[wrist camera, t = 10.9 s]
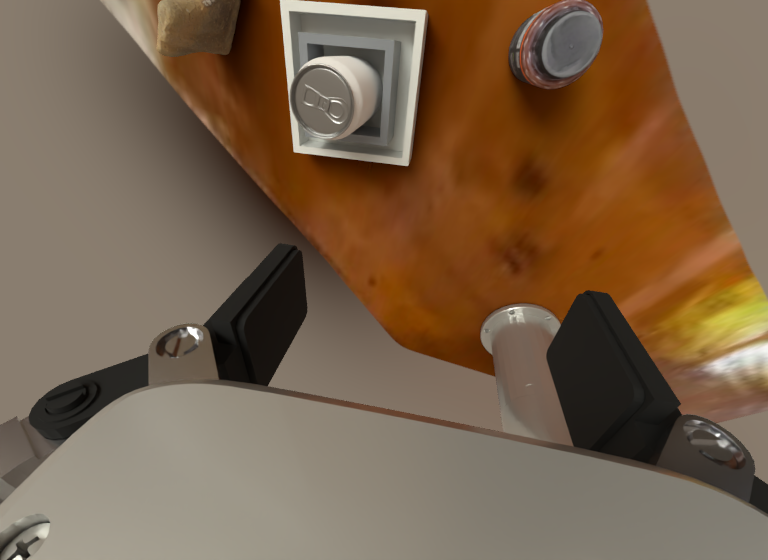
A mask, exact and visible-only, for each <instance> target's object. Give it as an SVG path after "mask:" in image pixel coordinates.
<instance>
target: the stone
mask: <svg viewBox="0 0 768 560" xmlns="http://www.w3.org/2000/svg"><path fill="white" fill-rule="evenodd" d="M240 1H241V0H162V1H160V3H159V4H158V22H159V25H158V38H157V51H158V52H159V53H160V54H162V55H165V56H170V57H177V56H182V55H187V54H190V53H195V52H208V53H214V54H221V55H227V54H229V52H230V49H231V45H232V41H233V36H234V33H235V28H236V22H237V16H238V12H239V7H240Z"/></svg>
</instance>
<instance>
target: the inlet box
mask: <svg viewBox="0 0 768 560" xmlns="http://www.w3.org/2000/svg"><path fill="white" fill-rule="evenodd" d="M280 6H281V17H282V28H283V39H284V50H285V61H286V72H287V83H288V94H289V104H290V89H291V84H292V82H293V79H294V77H295V76H296V74H297V73H298V72H299V70H300V69H301V68H302V66H303V65H304V64H306V63H307V62H309V61H310V60H312V59H315V58H318V57H327V56H358V57H361V58H364V59H366V60H367V61H369V62H370V63H371V64H372V65H373V66H374V67H375V68H376V70H377V71H378V73H379V75H380V78H381V81H382V86H383V95H382V101H381V104H380V107H379V109H378V111H377V112H376V113H375V114H374V115H373V116H372V117H371V118H370V119H369V120H367V121H366V122H365V123H364V124H363V125H361V126H360V127H359V128H358V129H356V130H355V131H354V132H352V133H351V134H350V135H348V136H346V137H344V138H342V139H338V140H326V139H320V138H316V137H314V136H312V135H310V134H309V133H307V132H306V131H305V130H304V129H303V128H302V127H301V126H300V125H299V123H298V122H297V120H296V118H295V116H294V114H293V112H292V108H291V104H290V115H291V126H292V137H293V148H294V152H297V153H305V154H314V155H322V156H330V157H338V158H346V159H354V160H362V161H370V162H378V163H386V164H394V165H402V166H408V165H409V163H410V160H411V157H412V150H413V141H414V133H415V124H416V116H417V107H418V99H419V90H420V82H421V73H422V65H423V57H424V48H425V40H426V31H427V23H428V13H427V11H426V10H416V9H403V8H389V7H376V6H363V5H350V4H337V3H324V2H311V1H297V0H280Z"/></svg>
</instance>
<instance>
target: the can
mask: <svg viewBox="0 0 768 560" xmlns="http://www.w3.org/2000/svg"><path fill="white" fill-rule="evenodd" d="M382 95H383V86H382V81H381V78H380V75H379V73H378V71H377V70H376V68H375V67H374V66H373V65H372V64H371V63H370V62H369V61H367V60H366V59H364V58H361V57H358V56H327V57H318V58H315V59H312V60H310V61H309V62H307V63H306V64H304V65H303V66H302V68H301V69H300V70H299V72H298V73H297V74H296V76H295V77H294V79H293V82H292V84H291V89H290V104H291V108H292V112H293V114H294V116H295V118H296V120H297V122H298V123H299V125H300V126H301V127H302V128H303V129H304V130H305V131H306V132H307V133H309V134H310V135H312V136H314V137H316V138H320V139H326V140H338V139H342V138H344V137H346V136H348V135H350V134H351V133H352V132H354V131H355V130H356V129H358V128H359V127H360V126H361V125H363V124H364V123H365V122H366V121H367V120H369V119H370V118H371V117H372V116H373V115H374V114H375V113H376V112H377V111H378V109H379V107H380V104H381V101H382Z"/></svg>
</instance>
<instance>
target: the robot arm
mask: <svg viewBox="0 0 768 560" xmlns="http://www.w3.org/2000/svg"><path fill="white" fill-rule="evenodd" d="M302 258H303V257H302V252H301V251H300V250H298V249H297V247H296V246H294V245H288V244H278V245H277V246H276V247H275V248H274V249H273V250H272V252H270V254H269V255H268V256H267V257H266V258H265V259H264V260H263V261H262V262H261V263H260V265H259V266H258V267H257V268H256V269H255V270H254V271H253V272H252V273H251V275H250V276H249V277H247V278H246V279H245V280H244V281H243V282H242V284H241V285H240V286H239V287H238V288H237V289H236V290H235V291H234V292H233V293H232V294H231V296H230V297H229V298H228V299H227V300H226V301H225V302H224V303H223V304H222V305H221V307H220V308H219V309H218V310H217V311H216V312H215V313H214V314H213V315H212V316H211V317H210V319H209V320H208V321H207V322H206V323H205V324H204V325H199V324H195V323H187V324H181V325H177V326H174V327H171V328H169V329H167V330H165V331H164V332H162V333H160V334H159V335H158V336H157V337H156V338H154V340H153V341H152V343H151V344H150V347H149V352H148V354H146V355H143V356H140V357H137V358H134V359H132V360H129V361H126V362H123V363H120V364H117V365H114V366H111V367H108V368H105V369H102V370H99V371H96V372H94V373H91V374H88V375H85V376H82V377H79V378H76V379H74V380H70V381H68V382H66V383H63V384H61V385H59V386H57V387H56V388H54V389H52V390H51V391H49V392H48V393H47V394H46V395H44V396H43V397H42V398H41V399H39V400H38V402H37V403H36V404H35V405H34V407H33V408H32V410H31V412H30V414H29V416H28V417H26V418H24V419H22V420H20V419H19V418H18V417H17V416H16V417H14V418H13V419H11V420H9V421H7V422H5V423H3V424H1V425H0V560H768V484H766V483H765V482H763V481H762V480H760V479H759V478H758V477H756V476H755V475H754V474H755V464H754V460H753V458H752V456H751V454H750V452H749V451H748V450H747V449H746V448H745V446H744V445H743V444H742V443H741V442H740V441H739V440H738V439H737V438H736V437H735V436H734V435H733V434H731V433H730V432H729V431H727V430H726V429H724V428H723V427H721V426H720V425H718V424H716V423H714V422H712V421H711V420H709V419H706V418H703V417H700V416H697V415H690V414H686V415H682V414H681V412H680V411H679V409H678V408H677V407H678V406H679V405H680V404H681V403H680V402H679V400H678V399H677V397H676V396H675V394H674V393H673V391H672V390H671V388H670V387H669V385H668V384H667V382H666V380H665V379H664V377H663V376H662V374H661V373H660V371H659V370H658V368H657V367H656V365H655V364H654V362H653V361H652V359H651V358H650V356H649V355H648V353H647V351H646V350H645V348H644V347H643V345H642V344H641V342H640V341H639V339H638V338H637V336H636V335H635V333H634V332H633V330H632V329H631V327H630V326H629V324H628V322H627V321H626V319H625V318H624V316H623V315H622V313H621V312H620V310H619V309H618V307H617V306H616V304H615V303H614V301H613V300H612V298H611V296H610V295H609V294H607V293H602V292H596V291H589V290H588V291H585V292H584V293H583V294H579V295H578V296H577V297H576V299H575V300H574V302H573V304H572V306H571V308H570V310H569V311H568V313H567V315H566V317H565V319H564V320H563V322H562V324H561V325H560V322H559V320H558V318H557V317H556V316H555V315H554V314H553V313H552V312H551V311H549V310H547V309H546V308H544V307H541V306H538V305H533V304H513V305H509V306H505V307H502V308H500V309H498V310H496V311H494V312H493V313H491V314H490V315H489V316H488V317H487V318H486V319H485V321H484V322H483V324H482V326H481V331H480V335H481V341H482V344H483V346H484V348H485V349H486V350H487V351H488V352H489V353H490V354H492V355H493V361H494V368H495V375H496V383H497V390H498V397H499V404H500V412H501V420H502V426H503V430H504V432H499V431H495V430H490V429H485V428H480V427H475V426H470V425H465V424H460V423H455V422H450V421H445V420H440V419H434V418H430V417H425V416H420V415H415V414H410V413H404V412H400V411H395V410H390V409H385V408H380V407H375V406H369V405H364V404H359V403H354V402H349V401H344V400H338V399H333V398H328V397H323V396H317V395H312V394H307V393H302V392H297V391H291V390H285V389H279V388H274V387H268V384H269V382H270V381H271V379H272V377H273V375H274V373H275V372H276V370H277V368H278V366H279V364H280V362H281V361H282V359H283V357H284V355H285V354H286V352H287V350H288V348H289V346H290V344H291V343H292V341H293V339H294V337H295V335H296V334H297V332H298V330H299V328H300V326H301V325H302V323H303V321H304V319H305V317H306V314H307V300H306V289H305V278H304V269H303V259H302Z"/></svg>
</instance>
